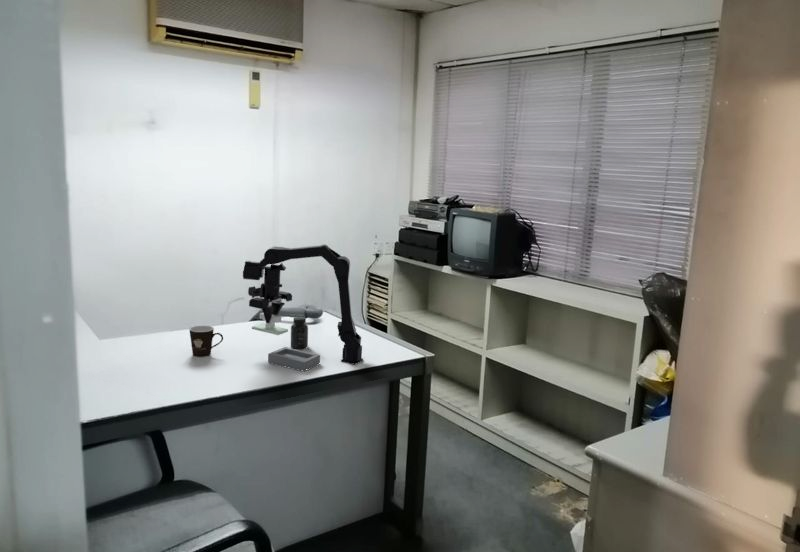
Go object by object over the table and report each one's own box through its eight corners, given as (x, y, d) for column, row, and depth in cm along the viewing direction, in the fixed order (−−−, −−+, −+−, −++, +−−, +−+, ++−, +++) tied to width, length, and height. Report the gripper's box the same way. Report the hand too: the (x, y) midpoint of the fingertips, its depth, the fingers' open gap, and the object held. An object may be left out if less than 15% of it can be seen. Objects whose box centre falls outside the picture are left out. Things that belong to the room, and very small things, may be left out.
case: (319, 363, 224) (320, 354, 223) (304, 371, 215) (304, 362, 214) (284, 355, 230) (284, 346, 230) (268, 362, 222) (268, 353, 221)
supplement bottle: (309, 345, 245) (310, 316, 243) (305, 350, 238) (306, 320, 236) (292, 343, 245) (293, 315, 243) (288, 348, 239) (289, 319, 237)
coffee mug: (184, 355, 224) (184, 329, 222) (201, 349, 232) (201, 324, 230) (207, 361, 219) (207, 334, 217) (224, 355, 227) (224, 329, 225)
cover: (287, 331, 226) (288, 316, 225) (278, 335, 221) (278, 319, 219) (262, 325, 231) (262, 310, 230) (251, 328, 226) (252, 313, 224)
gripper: (270, 274, 234) (268, 313, 237) (237, 281, 217) (236, 323, 220) (293, 279, 229) (291, 318, 232) (262, 286, 213) (260, 329, 216)
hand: (270, 322), depth 225 cm, fingers closed on cover, 2 cm apart
